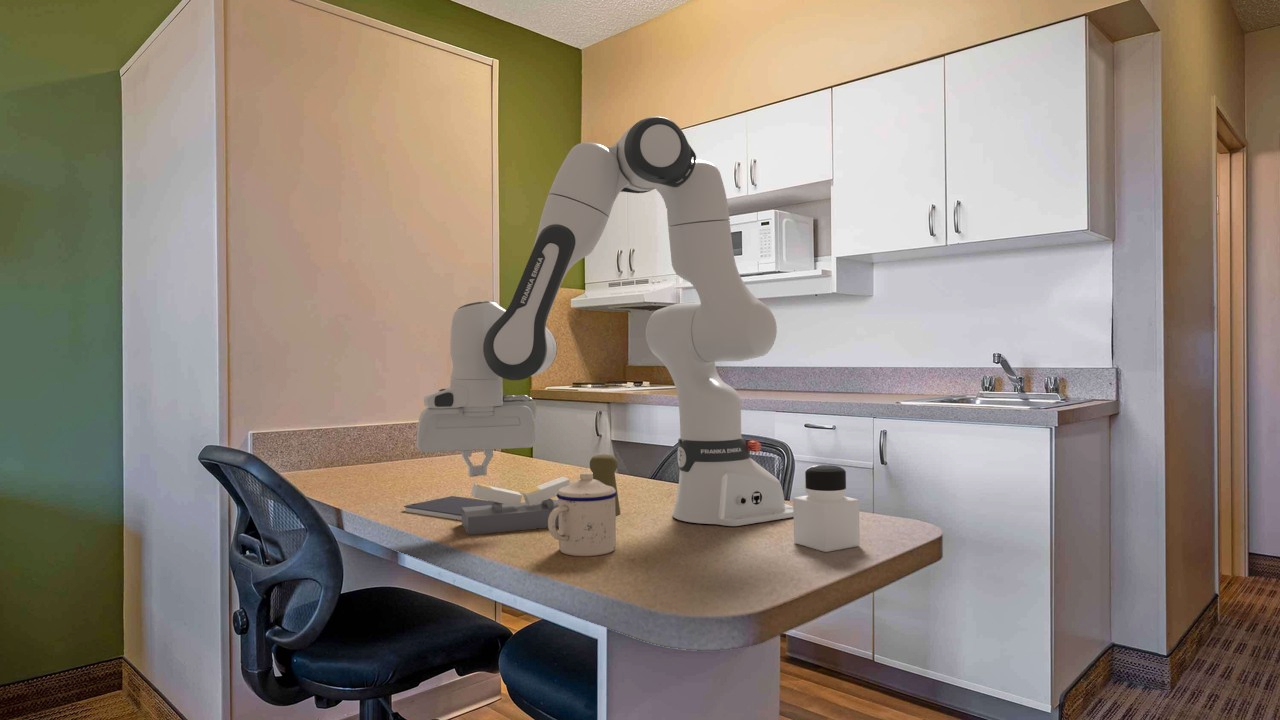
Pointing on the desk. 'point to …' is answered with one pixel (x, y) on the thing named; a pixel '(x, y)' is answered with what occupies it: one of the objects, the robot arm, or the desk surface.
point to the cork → (606, 473)
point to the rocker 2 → (544, 491)
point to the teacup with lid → (585, 518)
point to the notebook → (445, 506)
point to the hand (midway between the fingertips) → (477, 476)
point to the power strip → (507, 517)
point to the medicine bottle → (826, 511)
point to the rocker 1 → (496, 494)
